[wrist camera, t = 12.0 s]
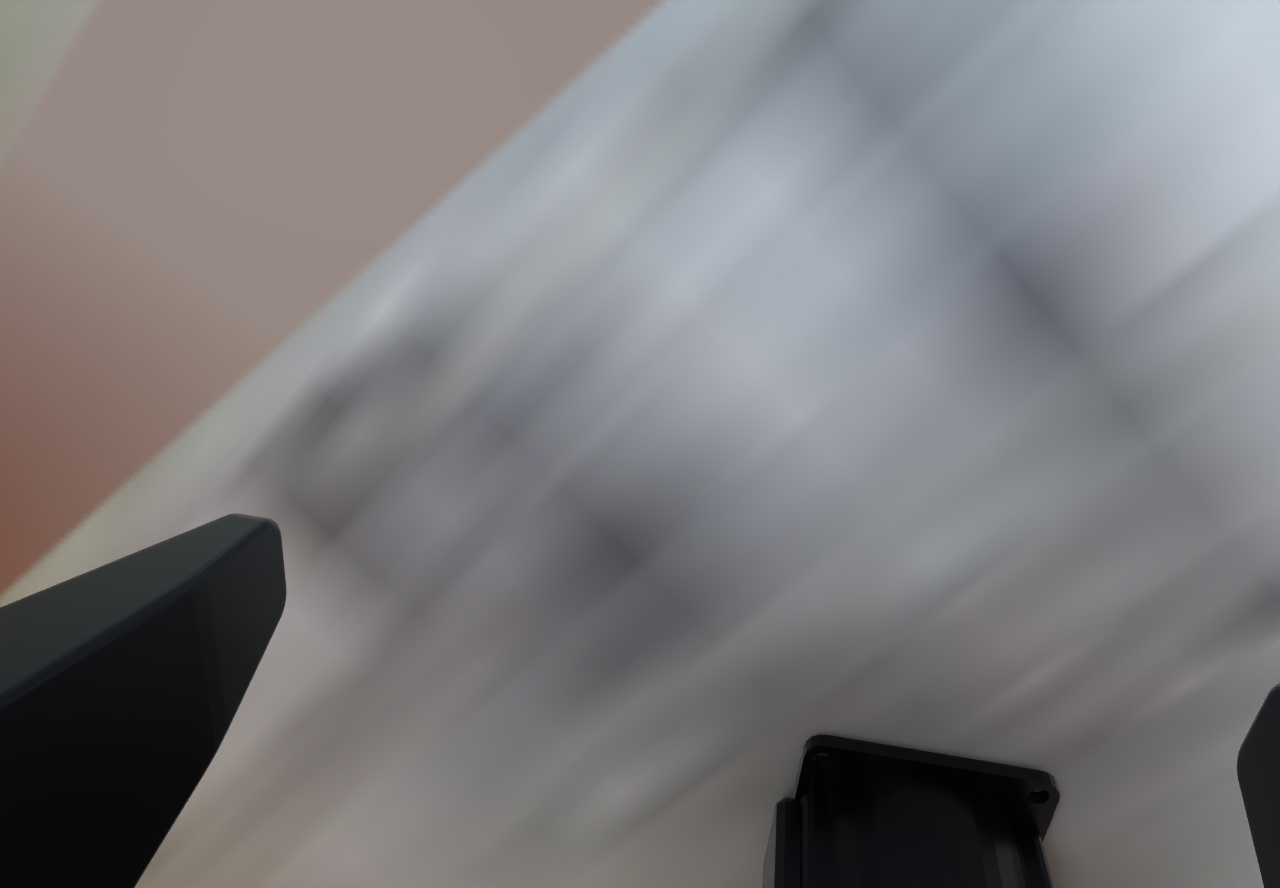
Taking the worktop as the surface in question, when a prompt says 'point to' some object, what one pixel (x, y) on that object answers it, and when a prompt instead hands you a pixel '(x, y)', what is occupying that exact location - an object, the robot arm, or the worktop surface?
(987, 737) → the worktop surface
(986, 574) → the worktop surface
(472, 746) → the worktop surface
